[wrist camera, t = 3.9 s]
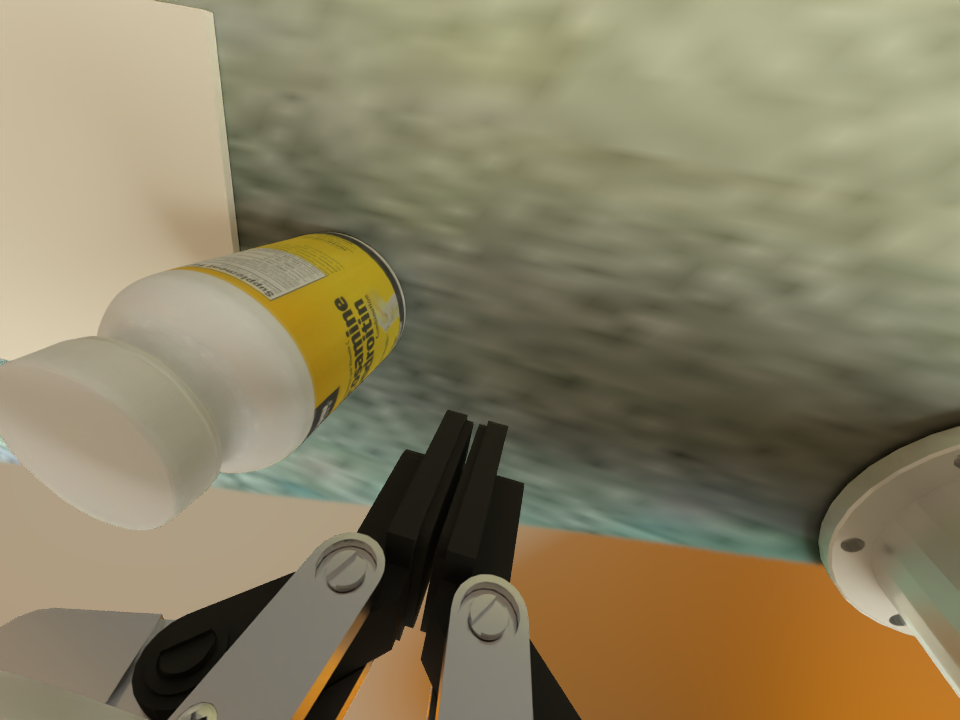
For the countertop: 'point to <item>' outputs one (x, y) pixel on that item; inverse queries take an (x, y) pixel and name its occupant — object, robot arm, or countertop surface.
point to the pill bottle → (201, 375)
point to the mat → (104, 158)
